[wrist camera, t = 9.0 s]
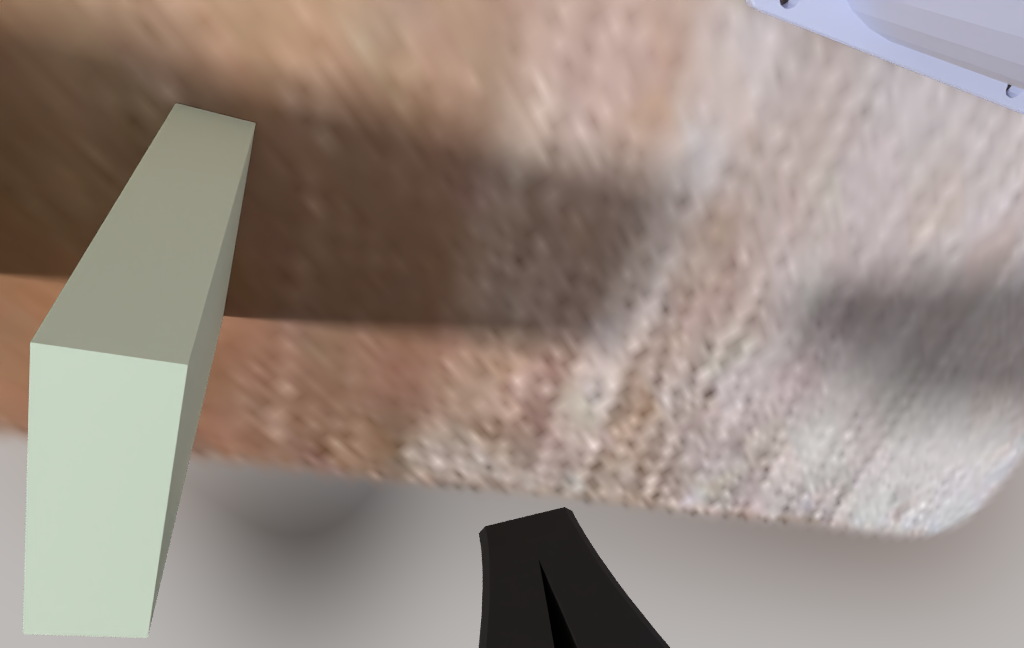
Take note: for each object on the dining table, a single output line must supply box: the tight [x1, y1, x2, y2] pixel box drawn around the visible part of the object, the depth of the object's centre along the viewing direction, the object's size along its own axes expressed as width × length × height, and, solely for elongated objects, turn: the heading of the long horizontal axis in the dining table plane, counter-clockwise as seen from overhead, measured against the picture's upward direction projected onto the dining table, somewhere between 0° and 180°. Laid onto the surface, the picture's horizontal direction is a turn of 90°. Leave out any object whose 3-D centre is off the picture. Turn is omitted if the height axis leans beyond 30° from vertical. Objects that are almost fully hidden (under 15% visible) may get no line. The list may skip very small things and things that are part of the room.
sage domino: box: [23, 103, 256, 638], centre depth 13 cm, size 2×5×9 cm, turn 162°
